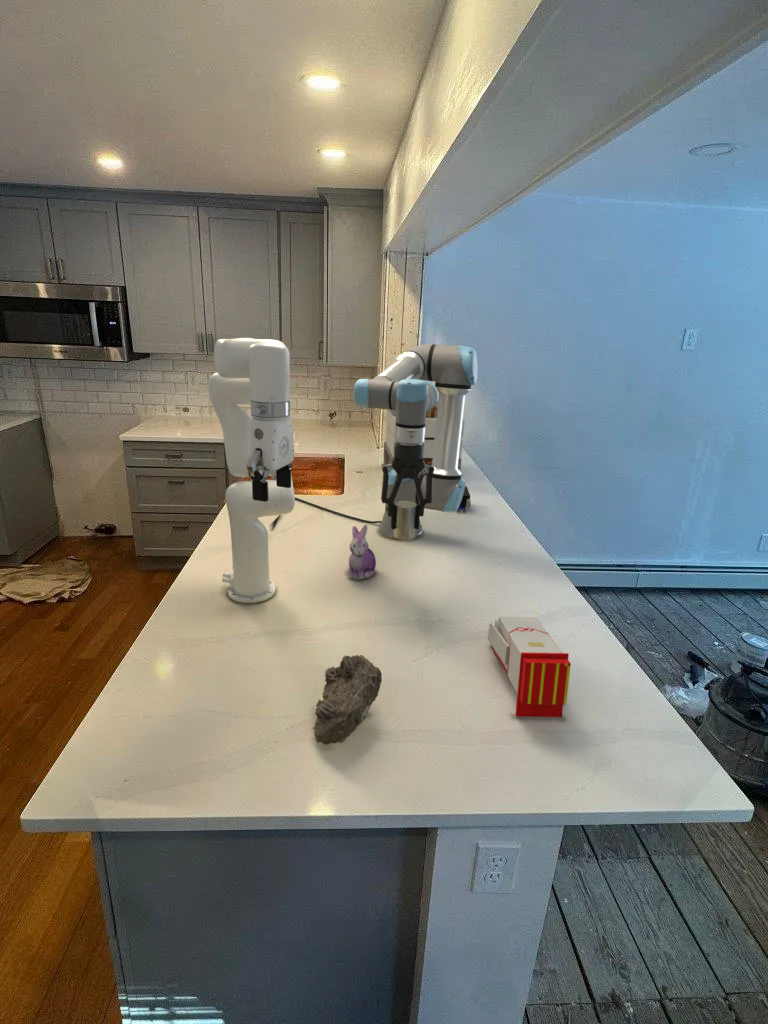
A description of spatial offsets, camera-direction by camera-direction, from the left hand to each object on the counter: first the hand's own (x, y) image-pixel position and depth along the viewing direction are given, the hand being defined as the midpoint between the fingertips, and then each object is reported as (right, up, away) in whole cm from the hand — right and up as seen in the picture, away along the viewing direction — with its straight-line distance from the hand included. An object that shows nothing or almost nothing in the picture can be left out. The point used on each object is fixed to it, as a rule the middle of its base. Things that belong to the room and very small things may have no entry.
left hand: (272, 493), depth 116 cm
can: (+28, -10, +36) cm, 47 cm away
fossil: (+16, -43, -4) cm, 46 cm away
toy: (+53, -40, +9) cm, 67 cm away
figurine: (+16, -22, +53) cm, 60 cm away
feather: (-16, -6, +95) cm, 96 cm away
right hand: (+28, -8, +36) cm, 46 cm away
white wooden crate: (+40, +15, +159) cm, 165 cm away
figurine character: (+54, -2, +114) cm, 126 cm away
